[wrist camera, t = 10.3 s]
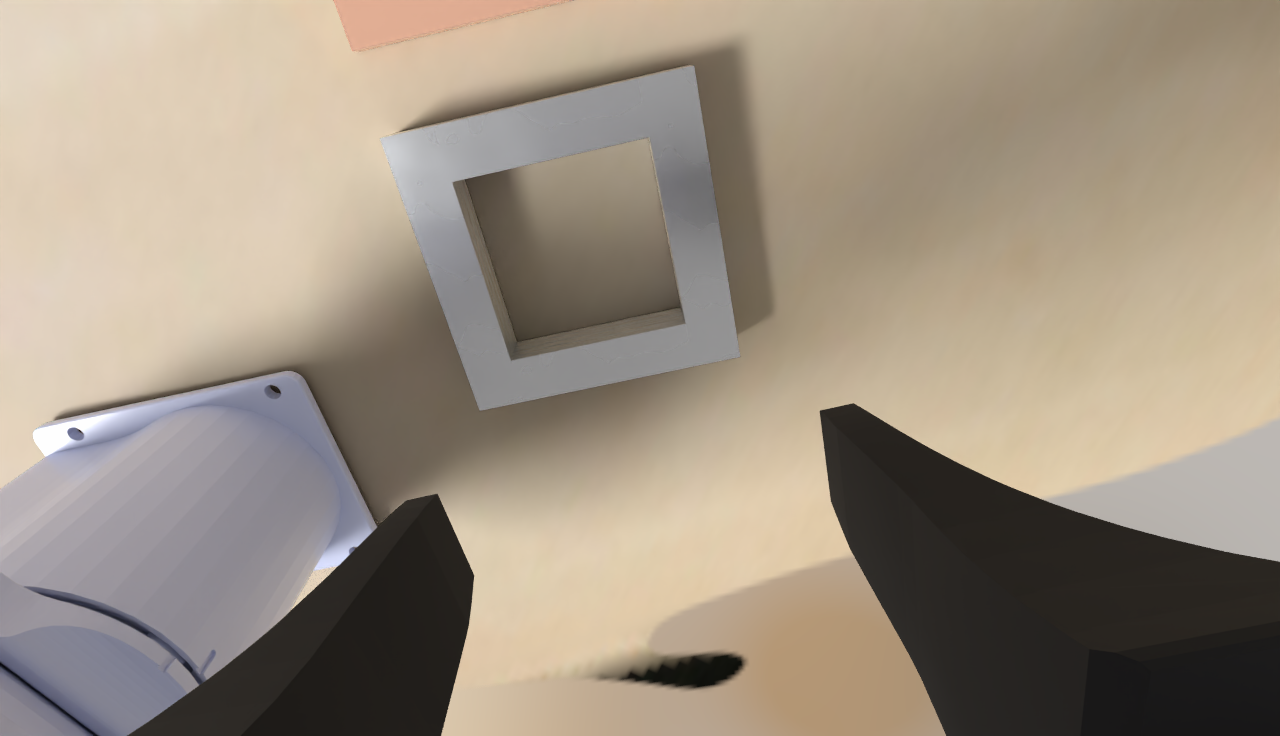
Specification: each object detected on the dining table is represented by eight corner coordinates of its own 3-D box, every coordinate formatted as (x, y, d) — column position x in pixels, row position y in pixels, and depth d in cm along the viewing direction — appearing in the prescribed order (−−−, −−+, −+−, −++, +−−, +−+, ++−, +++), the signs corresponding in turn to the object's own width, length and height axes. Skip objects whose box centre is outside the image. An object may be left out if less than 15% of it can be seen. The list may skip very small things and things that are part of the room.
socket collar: (487, 389, 22) (479, 411, 21) (396, 132, 19) (379, 138, 17) (732, 338, 22) (740, 356, 21) (687, 65, 18) (693, 65, 17)
